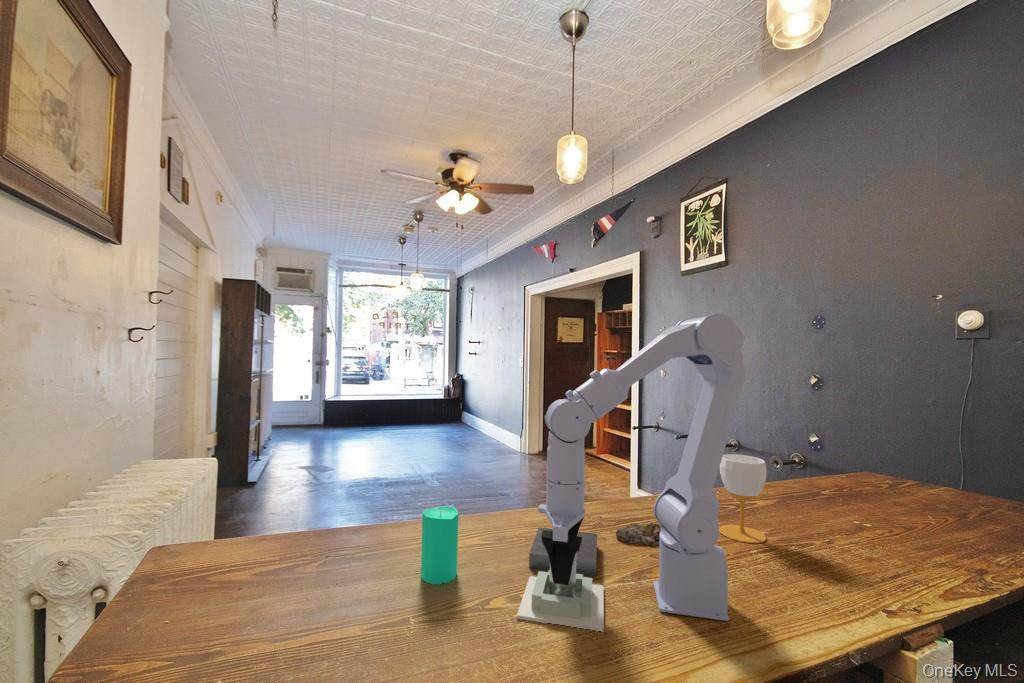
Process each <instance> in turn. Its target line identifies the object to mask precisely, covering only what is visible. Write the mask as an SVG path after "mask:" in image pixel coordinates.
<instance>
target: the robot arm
mask: <svg viewBox="0 0 1024 683" xmlns="http://www.w3.org/2000/svg"><path fill="white" fill-rule="evenodd" d="M744 340H745V334H744V333H743V331H742V330H741V329H740V328H739V326H738V324H737V323H736V321H734V320H733V318H732V317H731V316H729V315H726V314H723V313H712V314H709V315H707V316H705V315H704V316H699V317H687V318H685V319H682V320H680V321H678V322H677V323H676V325H672V326H670V327H669V328H667V329H665V330H664V331H662V333H660V334H659V335H658V336H657V337H655V338H654V339H652V341H650V342H648V343H647V345H645V346H644V347H643V348H642V349H640V350H639V351H637V352H636V353H635V354H634V355H633V356H631V357H630V358H629V359H627V360H626V361H625V362H624V363H623V364H621V365H620V366H619V367H617V368H616V369H610V368H602V369H601V370H600V371H599V370H597V369H594V370H593V371H592V372H590V373H589V376H590V378H589V379H588V380H586V381H584V383H582V384H581V385H579V386H578V387H577V388H575V389H574V390H572V389H569V390H567V391H566V392H565V394H564V395H565V396H566V398H563V399H561V398H560V399H556V400H555V401H553V402H552V403H551V404H550V405H549V406H548V409H547V410H546V413H545V415H544V421H545V425H546V426H547V429H549V431H548V438H547V443H548V445H547V449H546V451H547V452H546V454H547V455H546V486H545V487H546V495H545V496H546V497H545V500H546V501H545V504H544V503H541V504H539V505H538V507H537V512H538V513H540V514H544V515H545V516H546V518H547V520H548V521H549V524H550V525H551V526H552V529H553V531H547V530H543V532H542V534H541V539H542V543H543V544H544V546H545V548H546V551H547V553H548V556H549V561H550V566H551V572H552V578H553V581H554V583H555V584H562V585H568V584H569V581H570V577H571V571H572V565H573V561H574V557H575V554H576V552H577V550H578V548H579V547H580V544H581V542H582V537H578V536H577V534H578V532H579V530H580V527H581V525H582V523H583V520H584V519H585V517H586V508H585V474H586V473H585V472H586V471H585V468H586V467H585V466H586V465H585V464H586V461H585V460H586V450H585V437H587V435H588V434H589V432H590V430H591V427H592V424H593V423H597V421H599V420H600V419H601V418H603V417H605V415H607V414H608V413H609V412H611V411H612V410H614V409H615V408H617V407H618V406H619V405H621V404H622V403H623V402H624V401H626V400H627V399H628V397H629V392H630V387H631V386H633V385H634V384H636V383H637V382H639V381H640V380H642V379H643V378H645V377H646V376H648V375H649V374H650V373H652V372H654V371H655V370H656V369H658V368H659V367H661V366H662V365H664V364H666V363H667V362H668V361H670V360H672V359H675V358H686V359H687V360H688V361H690V363H692V364H693V365H694V366H695V368H696V369H697V371H698V372H699V373H700V375H701V376H702V378H703V384H702V388H701V391H700V393H699V394H700V395H699V399H698V402H697V404H696V409H695V411H694V414H693V418H692V421H691V425H690V428H689V431H688V436H687V438H686V439H687V440H686V442H685V445H684V449H683V452H682V455H681V459H680V462H679V466H678V470H677V473H675V475H673V476H671V477H670V478H669V479H668V480H666V482H665V487H664V489H663V491H662V492H661V493H660V494H659V495H658V496H657V497H656V499H655V501H654V504H653V515H654V518H655V519H656V521H657V522H658V524H659V525H660V526H661V532H660V540H659V544H658V549H659V550H658V551H659V552H658V554H659V556H658V557H659V558H658V560H659V561H658V581H657V580H655V581H653V589H654V592H655V597H656V601H657V606H658V610H659V611H660V612H662V613H667V614H675V615H681V616H683V615H684V616H688V617H689V616H690V617H698V618H704V619H710V620H718V621H725V622H728V621H729V620H730V617H729V615H728V612H729V611H728V607H729V603H728V600H729V598H728V597H729V595H728V594H729V593H728V592H729V591H728V590H729V572H728V562H727V557H726V554H725V550H724V549H723V547H722V546H720V545H716V543H717V541H718V540H719V536H720V532H719V528H720V525H719V512H720V511H721V510H720V509H721V505H720V502H719V500H718V497H717V494H716V492H715V488H714V487H715V484H716V480H717V477H718V474H719V473H718V472H719V471H720V464H721V460H722V457H723V455H724V453H725V449H726V445H727V442H728V439H729V436H730V433H731V429H732V425H733V422H734V420H735V418H734V417H735V415H736V412H737V409H738V404H739V401H740V398H741V394H742V391H743V388H744V383H745V380H746V379H745V378H746V370H745V364H744V363H745V362H744V357H743V351H742V347H743V344H744Z"/></svg>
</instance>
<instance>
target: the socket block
mask: <svg viewBox="0 0 1024 683" xmlns="http://www.w3.org/2000/svg"><path fill="white" fill-rule="evenodd" d="M543 530H547V531H553V528H548V527H547V528H546V527H538V530H537V531H536V534H535V537H534V540H533V543H532V545H531V548H530V551H529V552H528V553H529V556H528V568H530V569H535V570H544V571H546V570H547V571H548V570H550V561H549V556H548V553H547V551H546V548H545V546H544V544H543V543H542V539H541V534H542V532H543ZM577 536H578V537H582V542H581V544H580V547H579V548H578V550H577V552H576V574H583V576H584V575H585V576H591V577H597V551H598V548H597V547H598V533H594V532H593V533H592V532H584V531H578V534H577Z"/></svg>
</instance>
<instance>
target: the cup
mask: <svg viewBox="0 0 1024 683" xmlns="http://www.w3.org/2000/svg"><path fill="white" fill-rule="evenodd" d="M719 473H720V477H721V481H722V484H723V485H724V489H725V490H726V491H727V492H728V494H729V495H731V497H733V498H734V499H736V500H737V501H739V525H738V524H724V525H721V526H719V534H721V535H722V534H723V535H722V536H724V537H725V536H726V538H727V537H728V538H727V539H729V540H732V541H737V542H740V543H746V544H762V543H765V542H766V541H767V539H768V538H767V537H766V535H765V534H764V533H762V532H761V531H759V530H757V529H754V528H752V527H748V526H745V503H746V502H747V501H752V500H754V499H755V498H756V497H759V495H760V494H761V493H762V490H763V489H764V487H765V483H766V480H767V464H766V461H765V460H764V459H762V458H760V457H755V456H751V455H745V454H737V453H735V454H733V453H731V454H730V453H729V454H723V457H722V460H721V464H720V467H719Z"/></svg>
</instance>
